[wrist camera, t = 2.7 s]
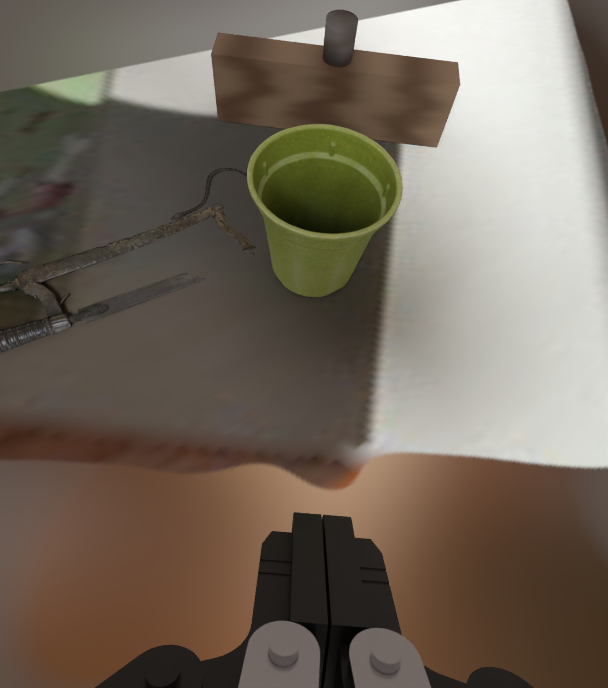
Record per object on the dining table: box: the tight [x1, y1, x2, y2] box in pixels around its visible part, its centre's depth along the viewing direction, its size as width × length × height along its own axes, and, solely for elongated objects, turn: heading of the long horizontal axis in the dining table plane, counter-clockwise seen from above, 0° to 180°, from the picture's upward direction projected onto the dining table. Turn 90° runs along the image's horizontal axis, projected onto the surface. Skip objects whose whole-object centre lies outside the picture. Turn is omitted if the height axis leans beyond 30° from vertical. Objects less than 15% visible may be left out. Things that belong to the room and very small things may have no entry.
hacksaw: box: [0, 168, 256, 353], centre depth 35 cm, size 24×10×2 cm, turn 118°
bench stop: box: [211, 10, 460, 147], centre depth 40 cm, size 20×3×9 cm, turn 84°
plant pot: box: [247, 124, 403, 297], centre depth 32 cm, size 9×9×9 cm
